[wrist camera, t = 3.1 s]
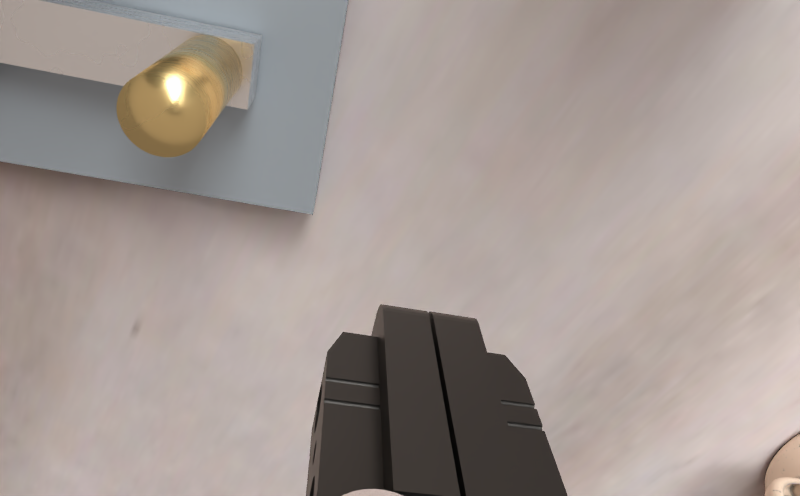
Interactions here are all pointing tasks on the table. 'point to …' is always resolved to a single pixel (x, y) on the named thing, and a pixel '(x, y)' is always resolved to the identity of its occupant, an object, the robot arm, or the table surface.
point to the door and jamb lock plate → (229, 134)
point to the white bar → (138, 64)
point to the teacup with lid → (784, 471)
